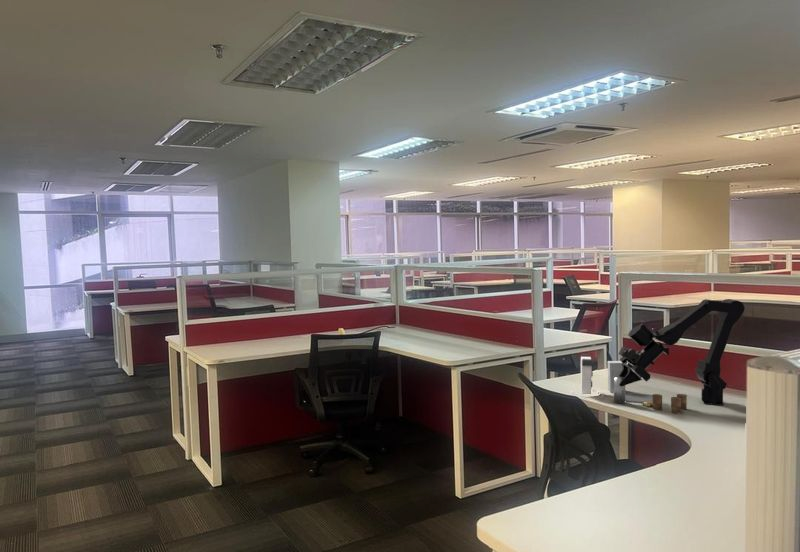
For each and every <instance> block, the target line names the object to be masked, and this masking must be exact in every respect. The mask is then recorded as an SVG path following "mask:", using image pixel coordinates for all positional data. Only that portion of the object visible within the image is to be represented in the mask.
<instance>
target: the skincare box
mask: <svg viewBox="0 0 800 552" xmlns="http://www.w3.org/2000/svg"><path fill="white" fill-rule="evenodd" d="M621 371H622V362H621V361H620V360H607V391H609V392H610V393H614V377H618V376H619V375H620V373H621Z"/></svg>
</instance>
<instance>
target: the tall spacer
mask: <svg viewBox="0 0 800 552" xmlns="http://www.w3.org/2000/svg"><path fill="white" fill-rule="evenodd" d="M623 378H624V377H614V392H613V402H614V403H617V404H618V403H619V404H622V403H626V402H625V393H626V385H624V386H620V385H619V384H620V382H621V381H622V380H623Z"/></svg>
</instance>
